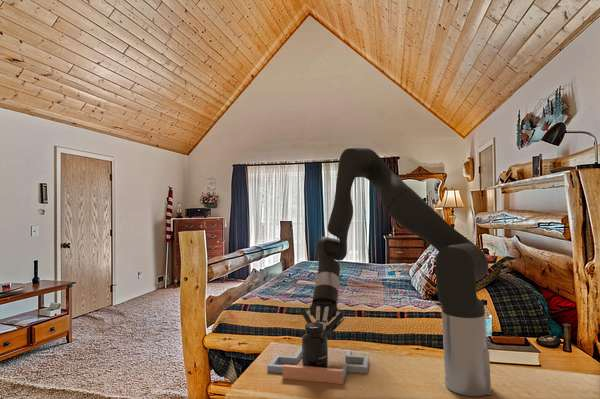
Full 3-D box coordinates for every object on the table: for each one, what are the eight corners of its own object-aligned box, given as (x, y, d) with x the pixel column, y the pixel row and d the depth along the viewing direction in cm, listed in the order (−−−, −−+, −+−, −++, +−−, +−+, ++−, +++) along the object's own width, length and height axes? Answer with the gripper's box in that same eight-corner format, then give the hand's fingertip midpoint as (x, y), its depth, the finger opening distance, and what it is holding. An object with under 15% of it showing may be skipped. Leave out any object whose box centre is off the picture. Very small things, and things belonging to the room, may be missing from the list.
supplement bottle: (326, 377, 90) (324, 330, 90) (299, 375, 91) (298, 328, 92) (330, 365, 96) (328, 321, 97) (305, 363, 98) (304, 320, 98)
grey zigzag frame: (369, 356, 102) (369, 345, 103) (365, 386, 85) (364, 373, 85) (284, 350, 109) (284, 340, 109) (263, 376, 91) (263, 364, 92)
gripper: (303, 282, 109) (293, 337, 97) (346, 284, 106) (341, 340, 94) (307, 296, 114) (298, 349, 102) (348, 297, 111) (344, 353, 98)
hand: (319, 344), depth 98 cm, fingers closed
